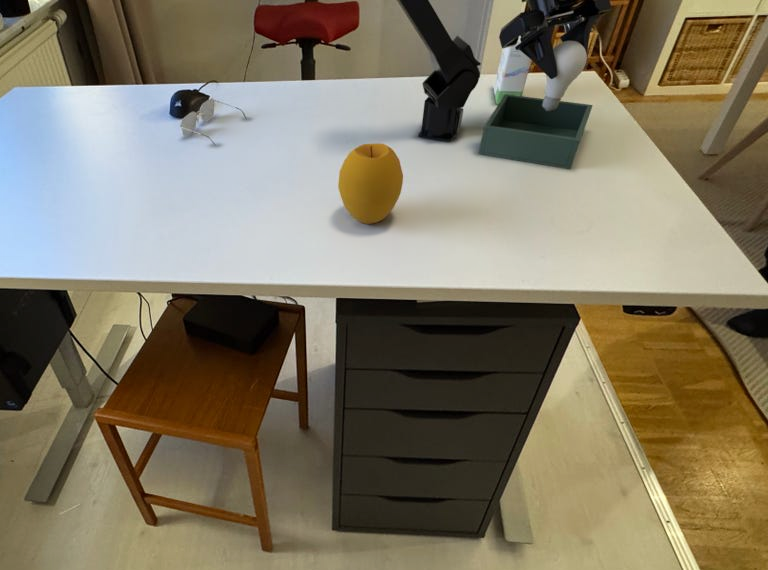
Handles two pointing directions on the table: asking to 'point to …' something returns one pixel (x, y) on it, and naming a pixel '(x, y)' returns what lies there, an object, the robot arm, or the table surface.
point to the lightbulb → (564, 71)
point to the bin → (535, 131)
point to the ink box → (511, 73)
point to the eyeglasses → (190, 120)
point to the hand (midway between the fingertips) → (568, 73)
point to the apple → (370, 182)
